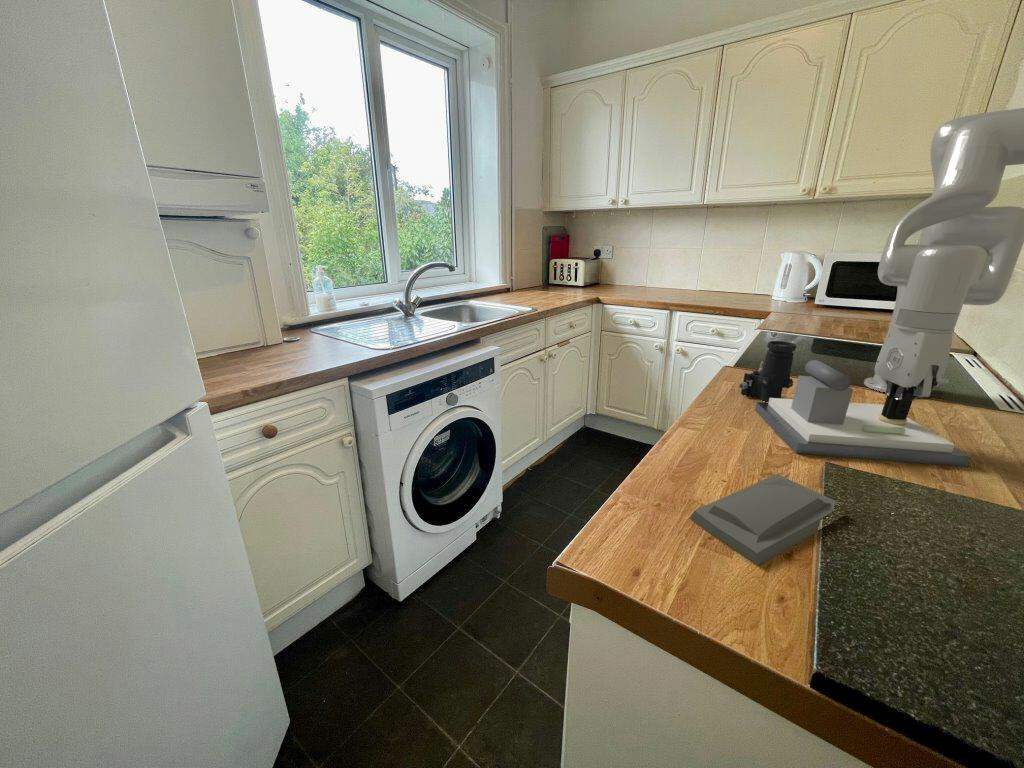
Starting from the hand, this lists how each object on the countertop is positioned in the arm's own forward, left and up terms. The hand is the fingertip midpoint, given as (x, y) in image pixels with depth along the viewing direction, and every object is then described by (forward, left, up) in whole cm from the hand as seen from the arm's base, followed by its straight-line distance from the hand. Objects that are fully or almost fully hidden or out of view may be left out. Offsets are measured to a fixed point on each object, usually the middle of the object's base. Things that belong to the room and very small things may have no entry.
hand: (893, 417), depth 78 cm
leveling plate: (+7, 0, -2) cm, 7 cm away
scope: (+15, -18, -5) cm, 24 cm away
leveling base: (+7, 0, -4) cm, 8 cm away
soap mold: (+32, +30, -5) cm, 44 cm away
